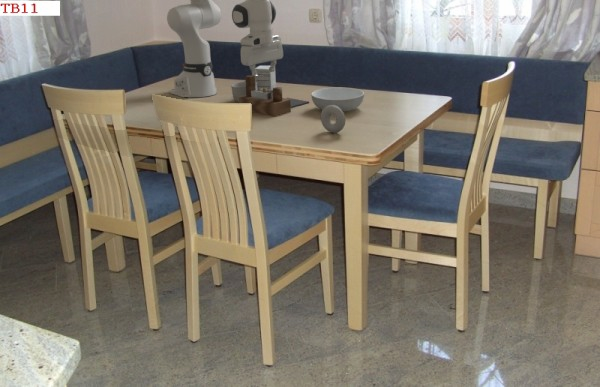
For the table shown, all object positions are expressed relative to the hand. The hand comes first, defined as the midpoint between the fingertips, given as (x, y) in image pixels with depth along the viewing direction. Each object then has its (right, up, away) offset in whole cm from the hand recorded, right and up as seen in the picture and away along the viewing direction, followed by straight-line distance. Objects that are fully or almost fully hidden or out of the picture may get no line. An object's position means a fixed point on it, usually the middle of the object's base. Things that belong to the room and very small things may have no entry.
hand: (263, 73), depth 291 cm
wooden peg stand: (0, -14, +5) cm, 15 cm away
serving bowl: (+29, -14, +3) cm, 33 cm away
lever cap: (0, -9, +4) cm, 10 cm away
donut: (+26, -26, -28) cm, 46 cm away
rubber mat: (+10, -10, +15) cm, 21 cm away
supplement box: (0, -5, +30) cm, 30 cm away
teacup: (-8, -8, +22) cm, 25 cm away
